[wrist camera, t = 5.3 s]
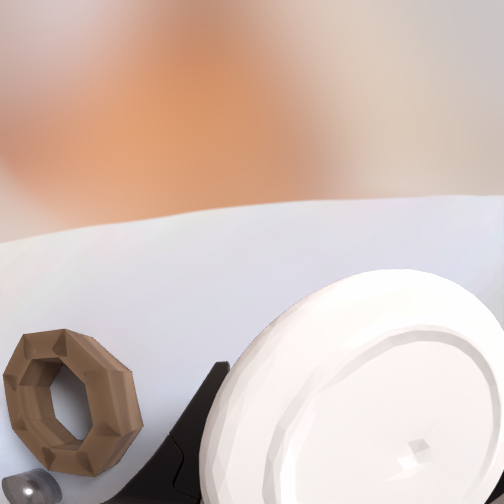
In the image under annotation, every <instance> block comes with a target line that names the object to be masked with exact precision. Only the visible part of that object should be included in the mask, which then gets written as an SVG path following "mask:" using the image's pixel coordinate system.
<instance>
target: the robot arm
mask: <svg viewBox="0 0 504 504" xmlns="http://www.w3.org/2000/svg"><path fill="white" fill-rule="evenodd" d="M229 371H230V365H229V362H227V361H224V362H216V363H215V364H214V366H213V367H212V369H211V371H210V372H209V374H208V375H207V377H206V378H205V380H204V381H203V383H202V385H201V386H200V388H199V389H198V391H197V392H196V394H195V395H194V397H193V398H192V400H191V401H190V403H189V404H188V406H187V407H186V409H185V410H184V412H183V413H182V415H181V416H180V418H179V419H178V421H177V422H176V424H175V425H174V427H173V428H172V430H171V431H170V433H169V435H168V436H167V437H166V439H165V440H164V442H163V443H162V444H161V446H160V447H159V448H158V450H157V451H156V452H155V454H154V455H153V456H152V457H151V459H150V460H149V461H148V462H147V463H146V464H145V465H144V467H143V468H142V469H141V470H140V471H139V472H138V473H137V474H136V475H135V476H134V477H133V478H132V479H131V480H130V481H129V482H128V483H127V484H126V485H125V486H124V487H123V488H122V489H121V490H120V491H119V492H118V493H117V494H116V495H115V496H114V497H112V498H111V499H109V500H107V501H105V502H103V503H101V504H204V500H203V497H202V493H201V487H200V473H199V452H200V446H201V440H202V436H203V432H204V428H205V424H206V420H207V417H208V414H209V412H210V409H211V407H212V404H213V402H214V399H215V397H216V394H217V392H218V390H219V389H220V387H221V385H222V383H223V381H224V379H225V377H226V376H227V374H228V373H229ZM484 504H504V470H503V472H502V475H501V477H500V479H499V481H498V483H497V484H496V486H495V488H494V489H493V491H492V493H491V494H490V496H489V497H488V499H487V500H486V502H485V503H484Z"/></svg>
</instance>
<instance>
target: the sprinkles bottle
mask: <svg viewBox="0 0 504 504" xmlns="http://www.w3.org/2000/svg"><path fill="white" fill-rule="evenodd" d="M503 470H504V332H503V330H502V328H501V327H500V325H499V323H498V322H497V320H496V319H495V317H494V316H493V315H492V313H491V312H490V311H489V310H488V309H487V308H486V307H485V306H484V305H483V304H482V303H481V302H480V301H479V300H478V299H477V298H476V297H475V296H474V295H472V294H471V293H469V292H468V291H466V290H465V289H463V288H462V287H460V286H459V285H457V284H455V283H453V282H451V281H449V280H447V279H444V278H442V277H439V276H436V275H434V274H430V273H425V272H421V271H416V270H411V269H407V270H397V269H390V270H377V271H371V272H365V273H361V274H357V275H353V276H350V277H348V278H345V279H342V280H339V281H337V282H334V283H331V284H329V285H327V286H325V287H323V288H321V289H319V290H317V291H315V292H313V293H311V294H309V295H308V296H306V297H305V298H303V299H302V300H300V301H299V302H297V303H296V304H294V305H293V306H291V307H290V308H289V309H287V310H286V311H285V312H283V313H282V314H281V315H279V316H278V317H277V318H275V319H274V320H273V321H272V322H271V323H270V324H269V325H268V326H267V327H266V328H265V329H264V330H263V331H262V332H261V333H260V334H259V335H258V336H257V337H256V338H255V339H254V340H253V341H252V342H251V343H250V345H249V346H248V347H247V348H246V350H245V351H244V352H243V353H242V355H241V356H240V357H239V358H238V360H237V361H236V362H235V364H234V365H233V367H232V368H231V370H230V371H229V373H228V374H227V376H226V377H225V379H224V381H223V383H222V385H221V387H220V389H219V390H218V392H217V394H216V397H215V399H214V402H213V404H212V407H211V409H210V412H209V414H208V417H207V420H206V424H205V428H204V432H203V436H202V440H201V446H200V452H199V473H200V487H201V493H202V497H203V500H204V504H484V503H485V502H486V500H487V499H488V497H489V496H490V494H491V493H492V491H493V489H494V488H495V486H496V484H497V483H498V481H499V479H500V477H501V475H502V472H503Z"/></svg>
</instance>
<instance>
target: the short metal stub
mask: <svg viewBox="0 0 504 504" xmlns="http://www.w3.org/2000/svg"><path fill="white" fill-rule="evenodd" d="M2 489H3V492H4V494H5V496H6V498H7V499H8V501H9V502H10V504H57V503H58V502H60V501H61V499H62V492H61V489H60V487H59V485H58V483H57V482H56V481H55V479H54V478H53V477H52V476H51V475H50V474H49V473H47V472H46V471H44V470H42V469H34V470H31V471H27V472H24V473H21V474H17V475H13V476H10V477H6V478H3V480H2Z"/></svg>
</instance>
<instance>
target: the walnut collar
mask: <svg viewBox="0 0 504 504" xmlns="http://www.w3.org/2000/svg"><path fill="white" fill-rule="evenodd" d="M62 364H66V366H67V367H68V368H69V369H70V370H71V371H72V372H73V373H74V374H75V375H76V376H77V377H78V378H79V379H80V380H81V381H82V382H83V383H84V384H85V388H86V393H87V398H88V403H89V408H90V413H91V417H92V421H93V426H92V428H91V430H90V431H89V433H88V434H87V436H86V438H85V439H84V440H77V439H76V438H75V437H74V436H73V435H72V434H71V433H70V432H69V431H68V430H67V429H66V428H65V427H64V426H63V425H62V424H61V423H60V422H59V421H58V420H57V419H56V418H55V414H54V409H53V404H52V398H51V393H50V385H51V383H52V382H53V380H54V378H55V376H56V374H57V373H58V371H59V369H60V367H61V366H62ZM3 380H4V387H5V394H6V400H7V406H8V411H9V416H10V421H11V425H12V429H13V430H14V431H15V433H16V434H17V435H18V436H19V438H20V439H21V440H22V441H23V443H24V444H25V445H26V446H27V447H28V449H29V450H30V451H31V452H32V453H33V454H34V455H35V456H36V458H37V459H38V460H39V461H40V462H41V463H42V464H43V465H44V466H45V467H46V468H47V469H48V470H50V471H56V472H62V473H68V474H75V475H83V476H92V477H95V476H97V475H99V474H100V473H102V472H104V471H105V470H107V469H109V468H110V467H112V466H114V465H115V464H117V463H118V462H119V461H120V460H121V458H122V457H123V455H124V454H125V452H126V451H127V449H128V448H129V447H130V445H131V444H132V442H133V441H134V439H135V438H136V436H137V435H138V433H139V432H140V430H141V429H142V427H143V426H144V425H143V421H142V417H141V413H140V409H139V405H138V400H137V396H136V391H135V386H134V381H133V376H132V371H130V370H129V369H128V368H127V367H125V366H124V365H123V364H122V363H121V362H119V361H118V360H117V359H116V358H115V357H114V356H113V355H111V354H110V353H109V352H108V351H107V350H106V349H105V348H103V347H102V346H101V345H100V344H99V343H98V342H97V341H96V340H95V339H94V338H92V337H89V336H86V335H83V334H79V333H76V332H73V331H70V330H67V329H59V330H52V331H45V332H37V333H29V334H23V336H22V337H21V339H20V341H19V343H18V345H17V347H16V349H15V351H14V353H13V355H12V357H11V359H10V361H9V363H8V365H7V367H6V369H5V371H4V374H3Z"/></svg>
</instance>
